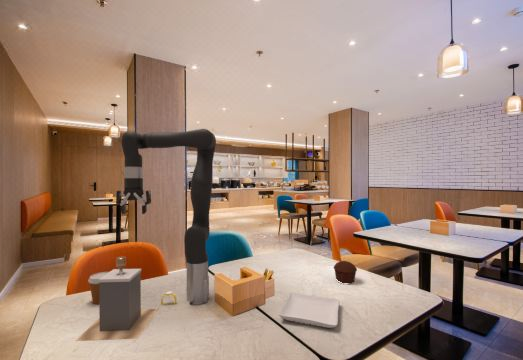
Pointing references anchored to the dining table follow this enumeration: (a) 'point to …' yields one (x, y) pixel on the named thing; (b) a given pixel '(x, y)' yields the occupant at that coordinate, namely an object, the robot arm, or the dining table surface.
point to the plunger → (121, 263)
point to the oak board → (133, 333)
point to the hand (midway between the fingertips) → (133, 213)
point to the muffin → (345, 271)
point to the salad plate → (311, 310)
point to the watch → (168, 295)
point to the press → (119, 299)
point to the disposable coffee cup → (95, 286)
